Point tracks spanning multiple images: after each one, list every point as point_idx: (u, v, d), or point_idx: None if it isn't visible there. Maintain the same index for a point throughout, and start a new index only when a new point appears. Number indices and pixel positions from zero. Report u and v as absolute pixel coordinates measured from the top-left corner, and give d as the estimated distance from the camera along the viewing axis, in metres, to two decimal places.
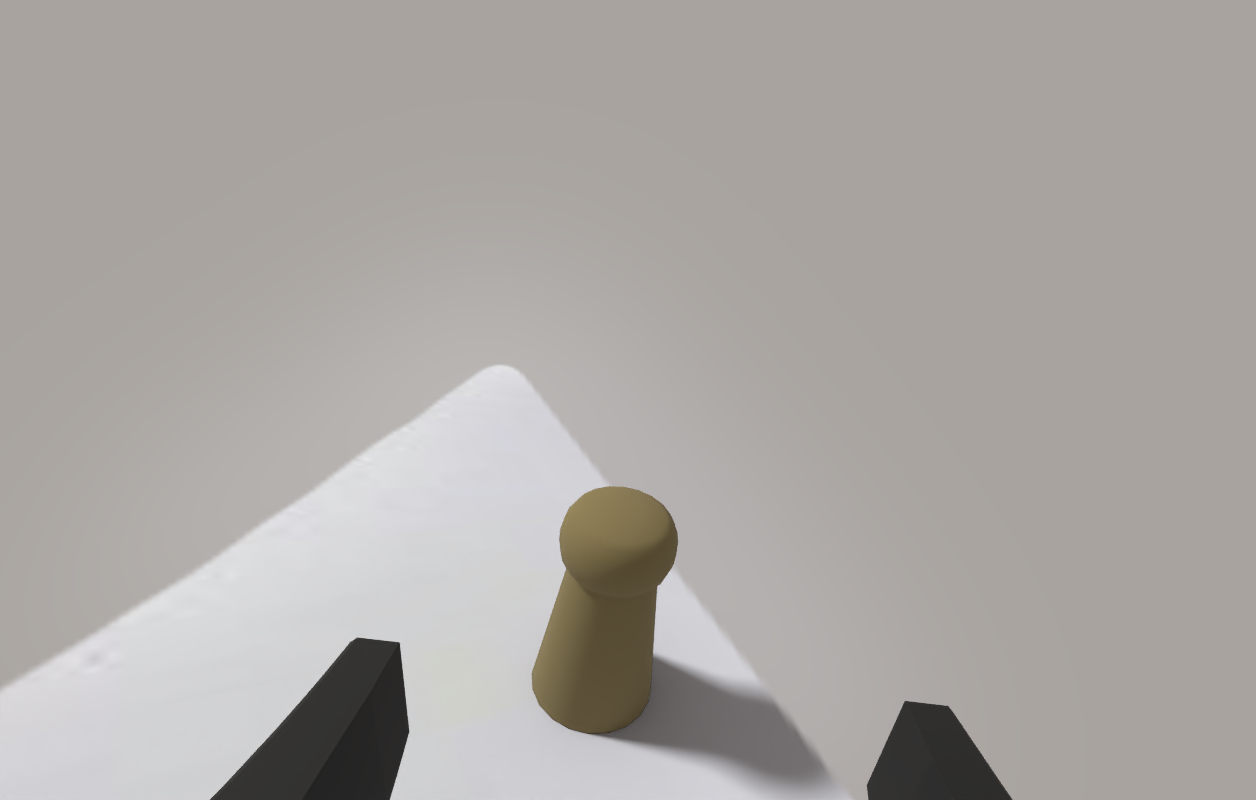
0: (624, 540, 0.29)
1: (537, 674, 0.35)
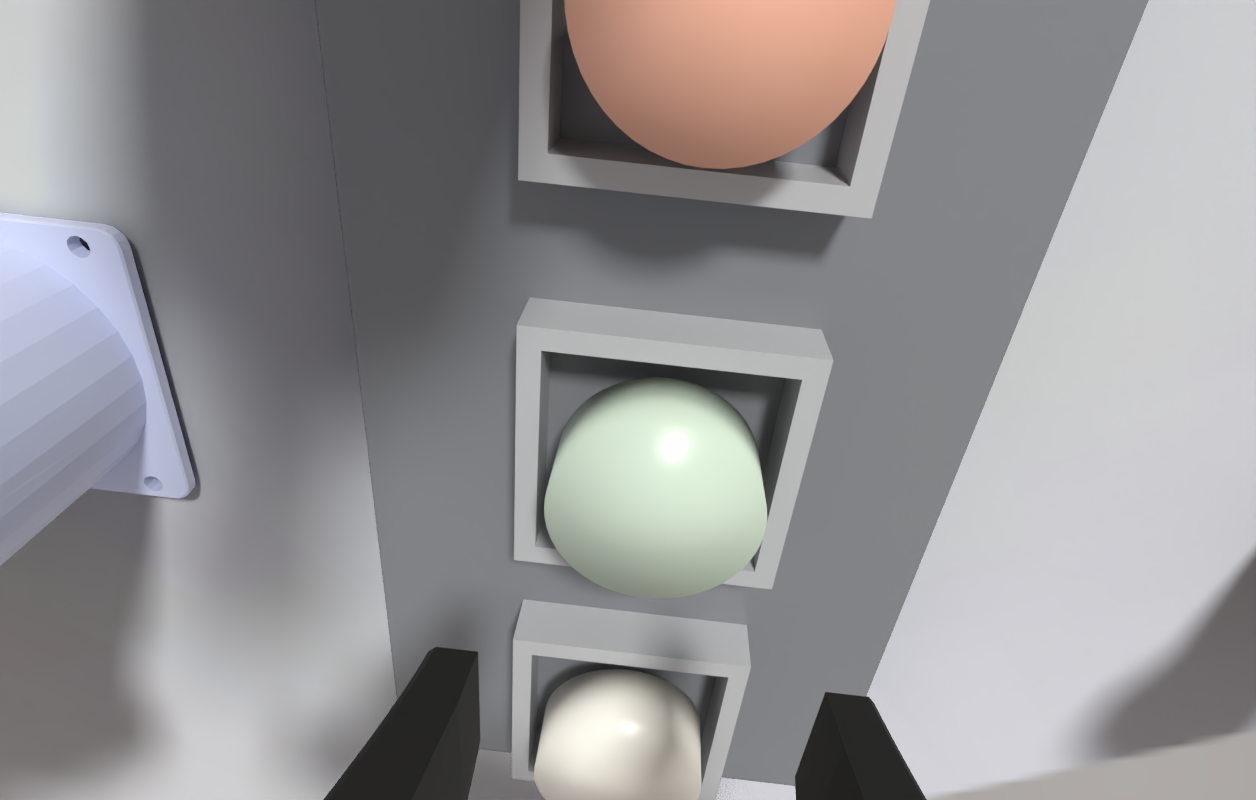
0: None
1: None
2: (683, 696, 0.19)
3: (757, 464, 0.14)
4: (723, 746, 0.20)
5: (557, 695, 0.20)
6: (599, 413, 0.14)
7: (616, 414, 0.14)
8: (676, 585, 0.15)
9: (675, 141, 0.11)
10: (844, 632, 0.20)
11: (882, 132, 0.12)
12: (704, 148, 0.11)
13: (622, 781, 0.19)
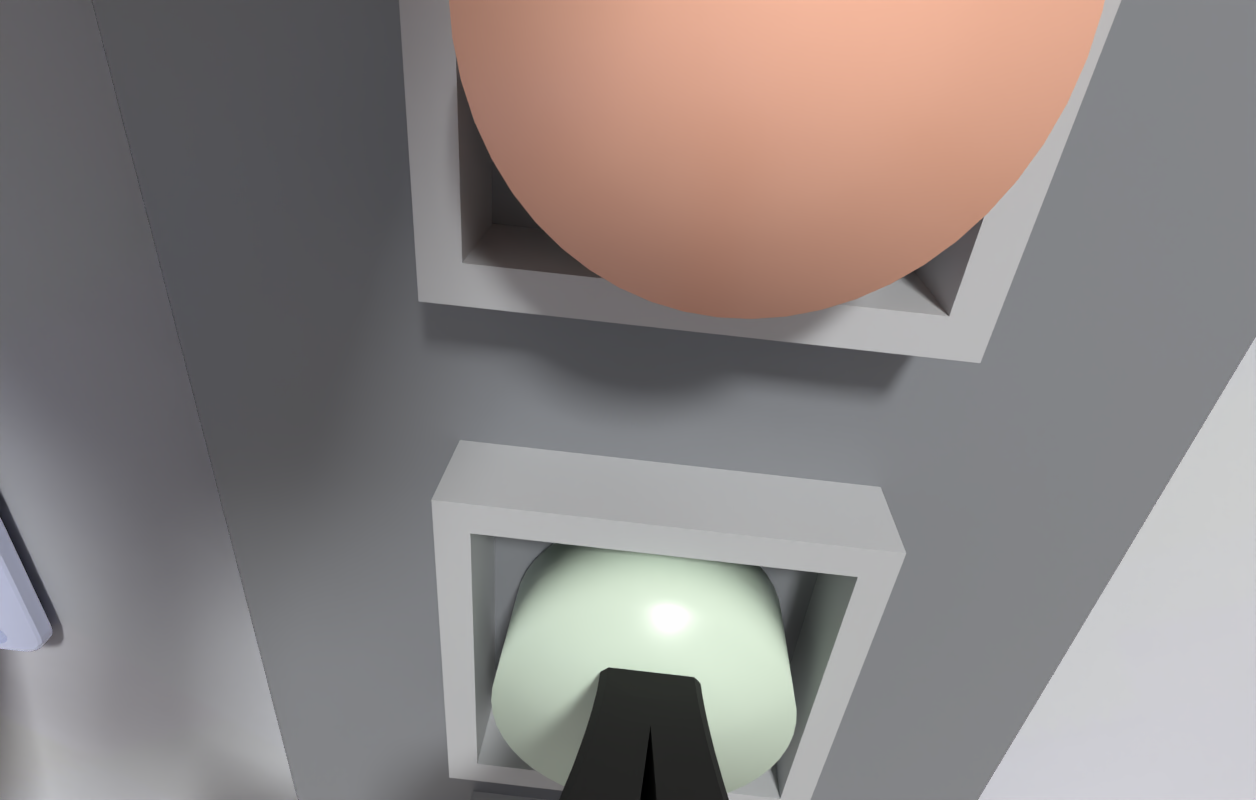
0: None
1: None
2: None
3: (782, 643, 0.10)
4: None
5: None
6: (566, 576, 0.10)
7: (588, 584, 0.10)
8: None
9: (666, 274, 0.06)
10: None
11: (1009, 235, 0.07)
12: (717, 285, 0.06)
13: None
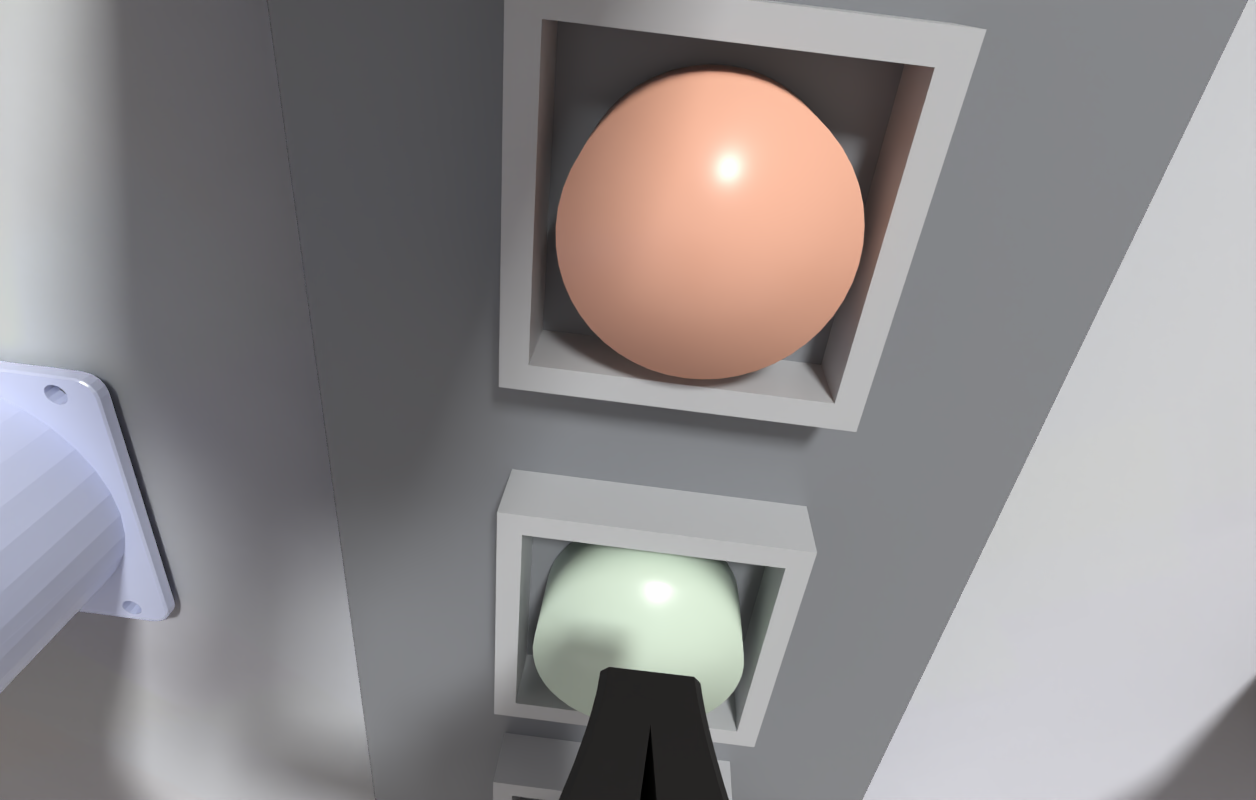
0: None
1: None
2: None
3: (735, 610, 0.15)
4: None
5: None
6: (586, 562, 0.15)
7: (602, 567, 0.14)
8: None
9: (658, 356, 0.11)
10: (827, 770, 0.20)
11: (867, 358, 0.12)
12: (685, 362, 0.11)
13: None
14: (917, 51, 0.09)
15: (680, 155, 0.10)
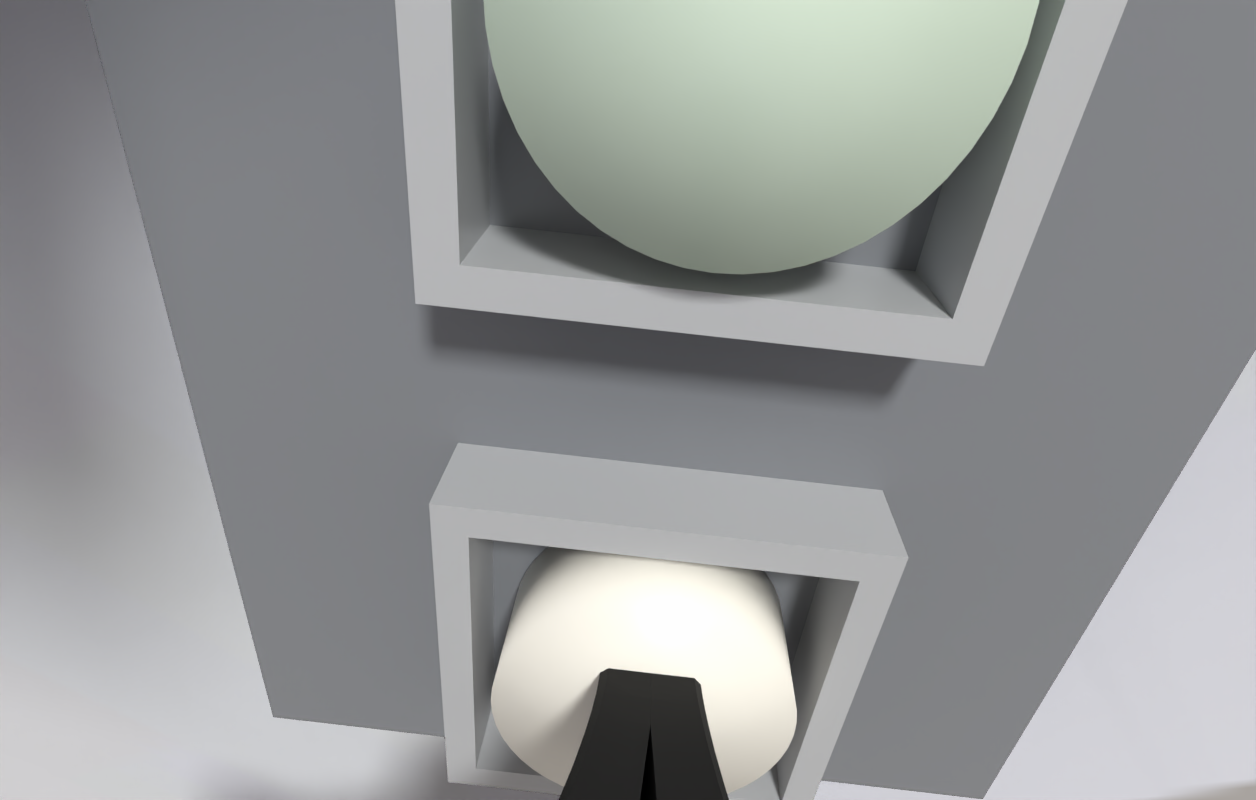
0: None
1: None
2: None
3: None
4: (832, 722, 0.11)
5: (535, 569, 0.11)
6: None
7: None
8: (789, 232, 0.07)
9: None
10: (1069, 502, 0.10)
11: None
12: None
13: None
14: None
15: None
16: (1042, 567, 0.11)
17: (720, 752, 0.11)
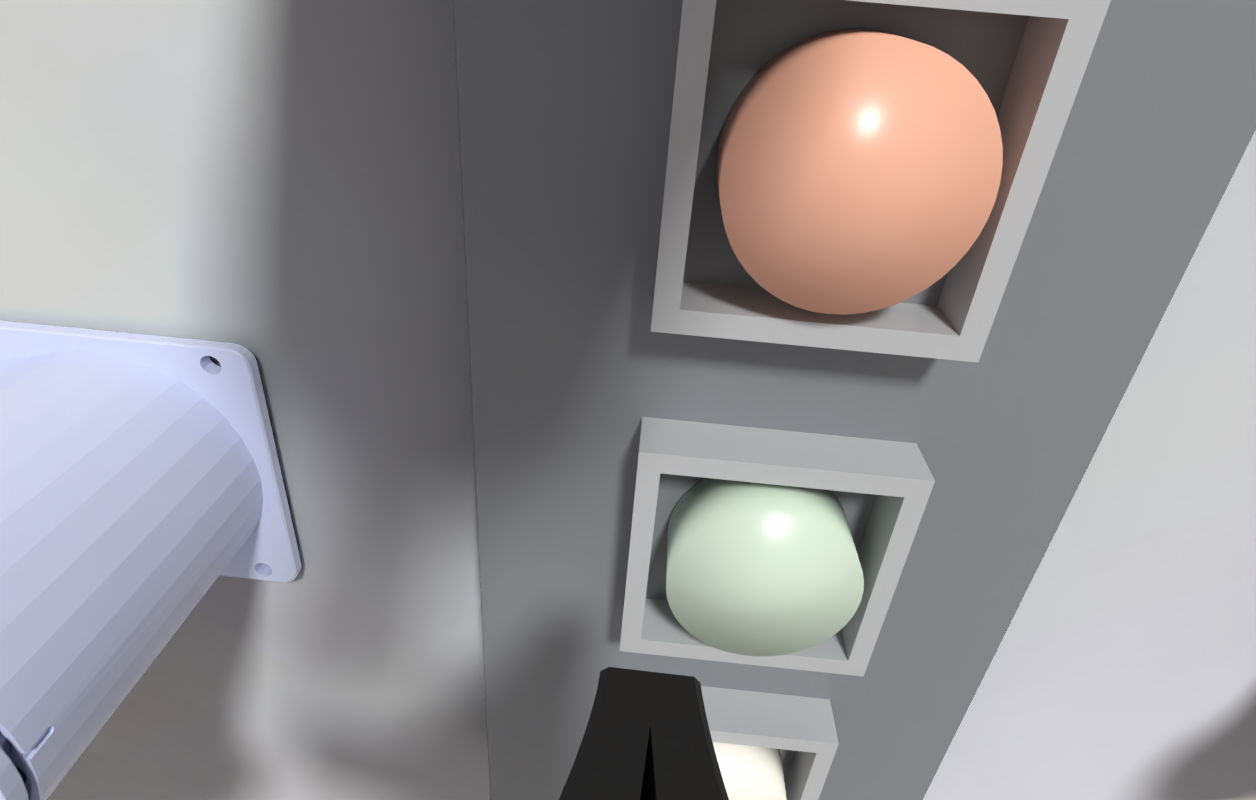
0: None
1: None
2: None
3: (853, 541, 0.16)
4: None
5: None
6: (714, 499, 0.16)
7: (732, 502, 0.16)
8: (778, 645, 0.17)
9: (805, 294, 0.13)
10: (923, 705, 0.21)
11: (992, 291, 0.13)
12: (829, 299, 0.13)
13: None
14: (1053, 5, 0.11)
15: (840, 106, 0.11)
16: (914, 733, 0.21)
17: None
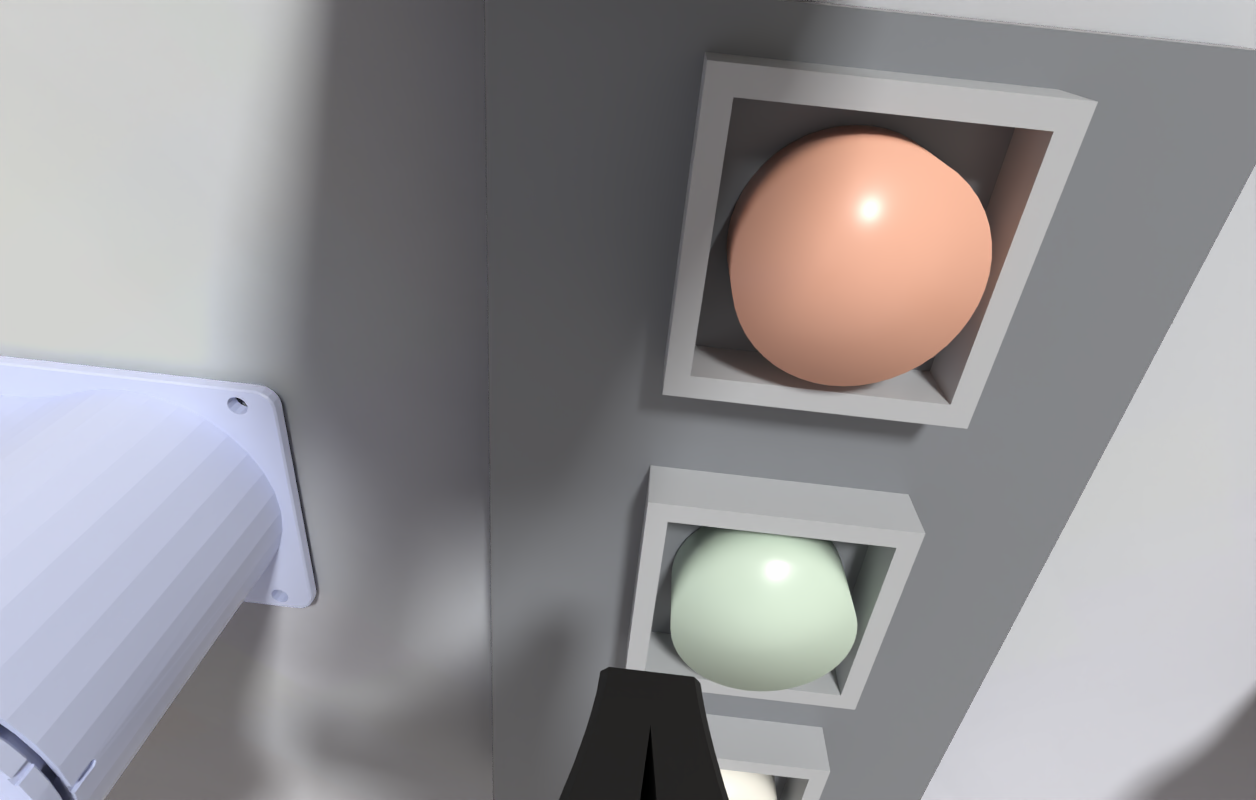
0: None
1: None
2: None
3: (847, 586, 0.17)
4: None
5: None
6: (718, 545, 0.17)
7: (734, 549, 0.17)
8: (775, 681, 0.18)
9: (808, 367, 0.14)
10: (911, 734, 0.22)
11: (981, 366, 0.14)
12: (830, 372, 0.14)
13: None
14: (1040, 119, 0.12)
15: (843, 204, 0.12)
16: (902, 759, 0.22)
17: None
